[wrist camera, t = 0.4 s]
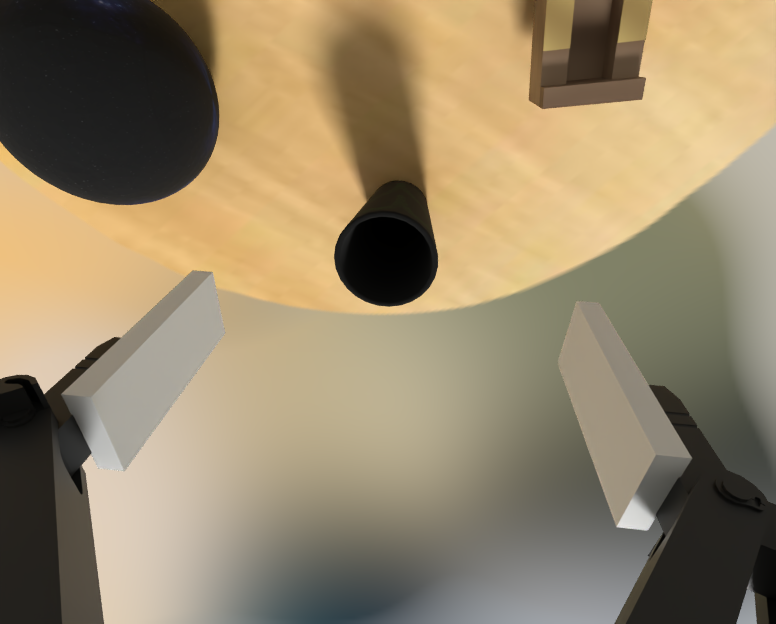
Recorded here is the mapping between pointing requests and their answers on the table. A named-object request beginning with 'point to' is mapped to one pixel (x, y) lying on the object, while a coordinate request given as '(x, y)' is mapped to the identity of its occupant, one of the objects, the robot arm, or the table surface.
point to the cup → (389, 247)
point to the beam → (587, 51)
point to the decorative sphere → (104, 98)
